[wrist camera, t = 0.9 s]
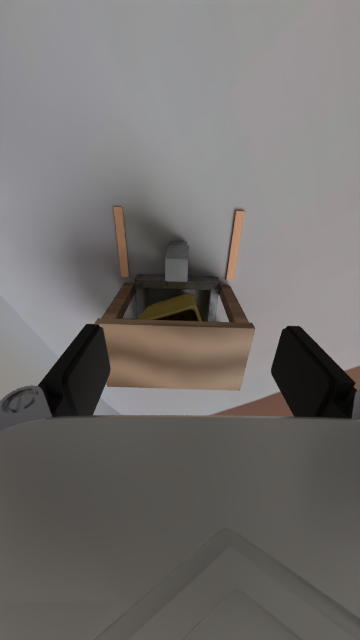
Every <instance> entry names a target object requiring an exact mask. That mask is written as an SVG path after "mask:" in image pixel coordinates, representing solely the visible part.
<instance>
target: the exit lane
mask: <svg viewBox="0 0 360 640" xmlns="http://www.w3.org/2000/svg"><path fill="white" fill-rule="evenodd" d="M113 208H114V217H115V226H116V234H117V243H118V251H119V260H120V269H121V277H129V269H128V258H127V248H126V237H125V227H124V217H123V207H113ZM244 215H245V211H236V214H235V221H234V228H233V235H232V241H231V248H230V255H229V262H228V269H227V276H226V280H234V276H235V270H236V263H237V257H238V251H239V245H240V239H241V233H242V227H243V221H244Z"/></svg>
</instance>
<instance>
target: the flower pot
mask: <svg viewBox="0 0 360 640" xmlns="http://www.w3.org/2000/svg"><path fill="white" fill-rule="evenodd" d="M179 317H182V319H179ZM138 320H168V321H200V322H202V320H201V317H200V314H199V311H198V308H197V305H196V302H195V299H194V297H193V295H192V294H190V293H186V294H183V295H180V296H177V297H173V298H170V299H167V300H164V301H160V302H157V303H154V304H152V305H150V306H149V307H147V308H146V309H145V310H144V312H143V313H142V315H141V316H140V318H139V319H138Z"/></svg>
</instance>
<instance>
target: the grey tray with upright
mask: <svg viewBox="0 0 360 640" xmlns="http://www.w3.org/2000/svg"><path fill="white" fill-rule="evenodd" d="M188 250H189V246H187V242H182V241H170V243H169V245H168V250H167V253H166V257H165V276H163V275H137V277H136V278H135V291H136V303H137V315H138V319H139V318H140V316H141V315H142V313H143V312H144V310H145V309H146V308H147V300H146V288H167V289H199V290H209V294H208V304H207V313H206V322H215V318H216V310H217V302H218V295H219V287H220V281H219V279H218V277H195V276H188Z"/></svg>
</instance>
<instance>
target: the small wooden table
mask: <svg viewBox="0 0 360 640" xmlns="http://www.w3.org/2000/svg"><path fill="white" fill-rule="evenodd" d="M134 293H135V288H134V284H131V283H124V285H123V286H122V288H121V289H120V291H119V292H118V294H117V295H116V297H115V298H114V300H113V301H112V303H111V304H110V306H109V307H108V309H107V310H106V312H105V313H104V315H103V316H102V318H98V319H97V321H96V322H95V323H94V324H99V326H100V327H103V330H104V335H105V340H106V346H107V351H108V356H109V361H110V367H111V370H110V375H109V377H108V379H107V387H139V388H172V389H205V390H239V391H240V388H241V384H242V380H243V376H244V372H245V368H246V364H247V359H248V355H249V351H250V347H251V343H252V339H253V335H254V331H255V328H254V326H253V324H252V323H249V321H248V320H247V318H246V316H245V314H244V312H243V310H242V308H241V306H240V304H239V302H238V300H237V298H236V296H235V294H234V293H233V291H232V289H231V287H226V286H221V289H220V298H221V300H222V303H223V306H224V309H225V311H226V314H227V317H228V319H229V322H200V321H168V320H136V319H122V317H123V315H124V313H125V311H126V309H127V307H128V305H129V303H130V301H131V299H132V297H133V295H134Z"/></svg>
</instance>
